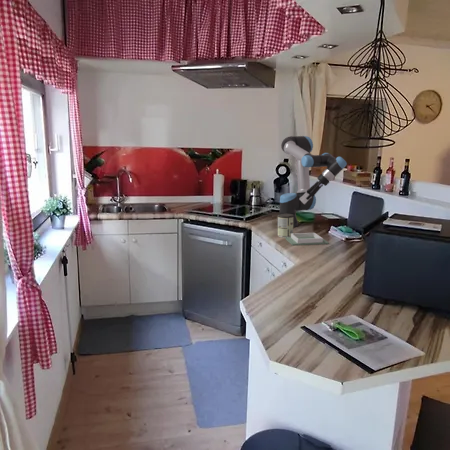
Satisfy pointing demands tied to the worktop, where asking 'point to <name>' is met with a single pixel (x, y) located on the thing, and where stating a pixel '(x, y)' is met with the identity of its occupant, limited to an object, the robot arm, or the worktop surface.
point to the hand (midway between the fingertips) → (301, 201)
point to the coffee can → (285, 225)
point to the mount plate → (305, 239)
